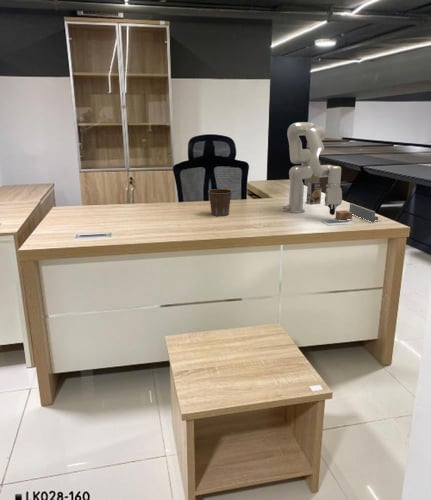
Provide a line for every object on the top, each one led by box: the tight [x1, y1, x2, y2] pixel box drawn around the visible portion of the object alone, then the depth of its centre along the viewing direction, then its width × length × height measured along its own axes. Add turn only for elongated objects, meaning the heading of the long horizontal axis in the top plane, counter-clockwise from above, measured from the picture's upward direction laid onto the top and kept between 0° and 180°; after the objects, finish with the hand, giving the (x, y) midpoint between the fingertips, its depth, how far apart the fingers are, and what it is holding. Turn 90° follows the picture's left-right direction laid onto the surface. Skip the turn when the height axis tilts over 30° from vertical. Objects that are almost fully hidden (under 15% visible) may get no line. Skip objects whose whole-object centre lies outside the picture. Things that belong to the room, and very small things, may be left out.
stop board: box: [348, 203, 379, 223], centre depth 279 cm, size 6×26×7 cm, turn 15°
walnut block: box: [335, 210, 353, 221], centre depth 276 cm, size 8×7×5 cm
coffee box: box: [305, 181, 323, 205], centre depth 324 cm, size 9×6×16 cm
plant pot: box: [207, 188, 233, 217], centre depth 288 cm, size 16×16×16 cm
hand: (332, 214), depth 273 cm, fingers closed
